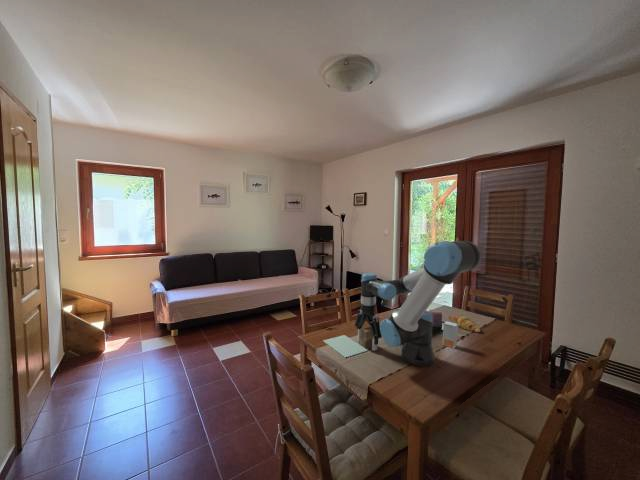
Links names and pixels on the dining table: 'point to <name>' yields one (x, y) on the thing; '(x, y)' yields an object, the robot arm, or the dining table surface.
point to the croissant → (464, 323)
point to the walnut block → (366, 337)
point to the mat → (345, 346)
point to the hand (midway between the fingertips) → (367, 345)
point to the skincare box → (450, 334)
